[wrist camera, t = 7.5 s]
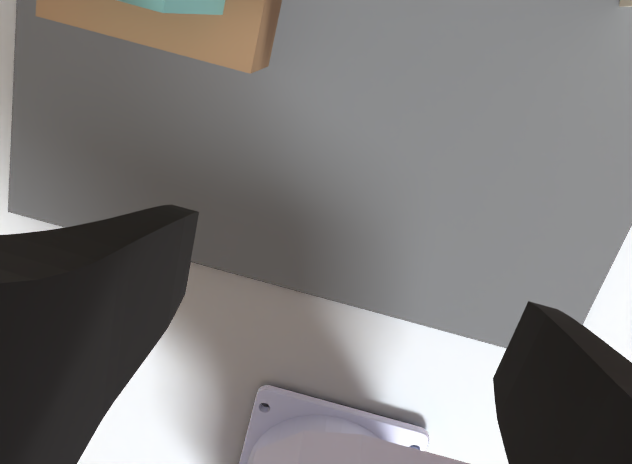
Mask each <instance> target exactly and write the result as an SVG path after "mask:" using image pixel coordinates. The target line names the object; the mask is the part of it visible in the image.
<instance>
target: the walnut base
mask: <svg viewBox="0 0 632 464" xmlns="http://www.w3.org/2000/svg"><path fill="white" fill-rule="evenodd" d="M281 3H282V0H225V5H224V10H223V15H207V14H176V13H161V12H157V11H153V10H150V9H146V8H142V7H139V6H135V5H132V4H128V3H124V2H121V1H117V0H36V16H38V17H41V18H45V19H49V20H53V21H56V22H60V23H64V24H68V25H71V26H75V27H79V28H82V29H86V30H90V31H94V32H97V33H101V34H105V35H108V36H112V37H116V38H120V39H123V40H127V41H131V42H134V43H138V44H142V45H146V46H149V47H153V48H157V49H161V50H164V51H168V52H172V53H175V54H179V55H183V56H187V57H190V58H194V59H198V60H201V61H205V62H209V63H213V64H216V65H220V66H224V67H228V68H231V69H235V70H239V71H242V72H246V73H250V74H251V73H253V72H256V71H258V70H261V69H263V68H266V67H268V66H269V61H270V57H271V52H272V47H273V42H274V37H275V32H276V28H277V23H278V18H279V13H280V8H281Z"/></svg>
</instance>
